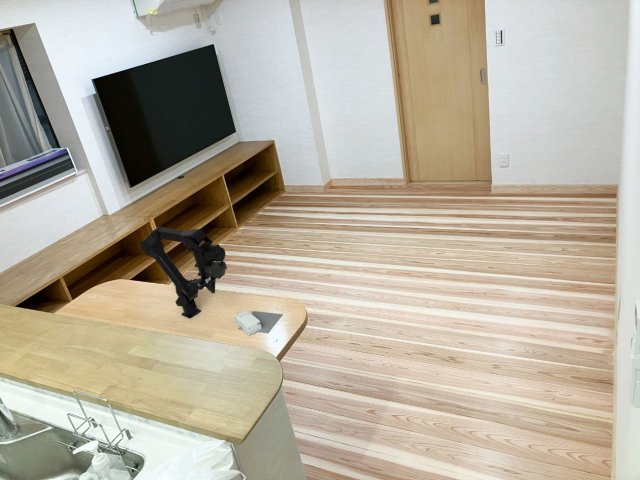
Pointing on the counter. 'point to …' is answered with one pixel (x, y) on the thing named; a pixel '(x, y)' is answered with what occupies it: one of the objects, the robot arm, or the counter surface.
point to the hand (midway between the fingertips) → (213, 293)
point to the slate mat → (266, 320)
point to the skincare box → (248, 322)
